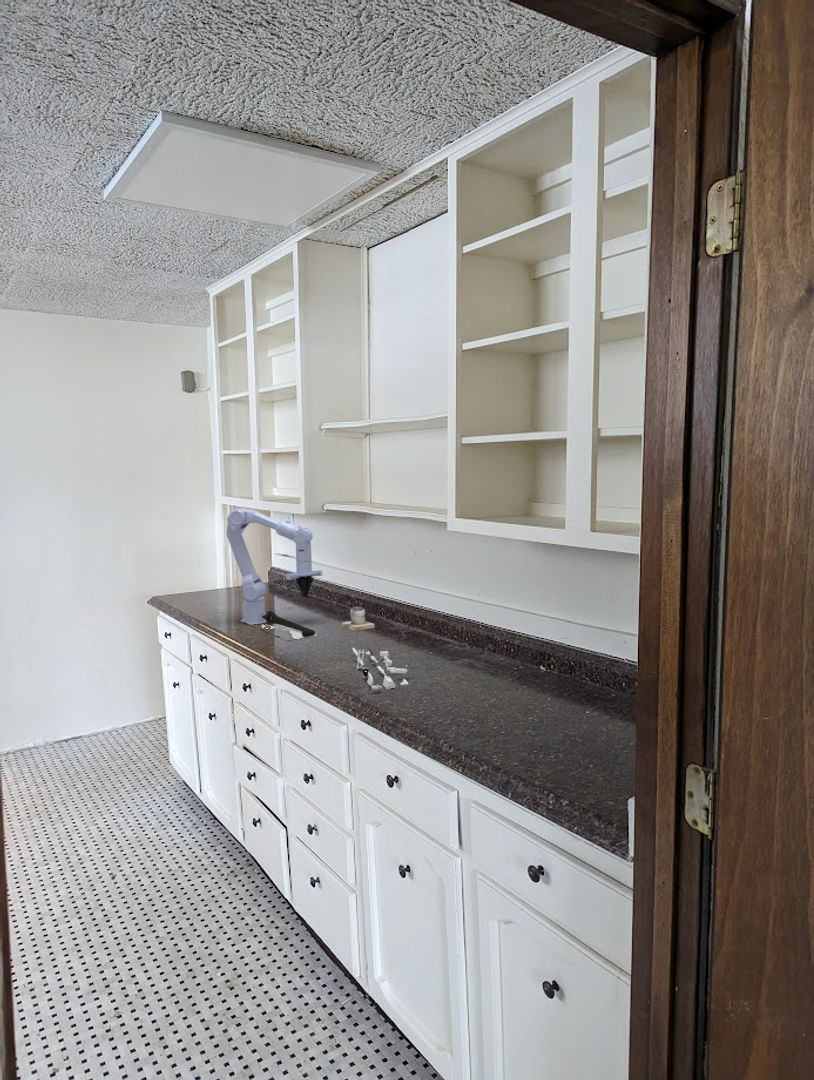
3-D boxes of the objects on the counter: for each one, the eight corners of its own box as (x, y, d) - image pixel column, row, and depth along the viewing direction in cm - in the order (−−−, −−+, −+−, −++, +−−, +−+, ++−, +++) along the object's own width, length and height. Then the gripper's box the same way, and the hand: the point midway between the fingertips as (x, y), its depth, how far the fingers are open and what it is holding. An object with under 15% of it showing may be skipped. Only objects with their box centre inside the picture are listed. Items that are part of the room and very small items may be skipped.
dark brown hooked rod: (304, 642, 245) (255, 623, 266) (315, 640, 249) (266, 622, 269) (304, 628, 245) (255, 610, 265) (316, 626, 248) (267, 608, 269)
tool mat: (252, 626, 264) (252, 626, 264) (281, 622, 271) (281, 621, 271) (287, 641, 242) (287, 640, 241) (317, 635, 249) (317, 635, 249)
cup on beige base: (341, 626, 262) (341, 607, 262) (359, 623, 267) (359, 604, 266) (356, 631, 254) (355, 611, 254) (374, 628, 259) (374, 608, 258)
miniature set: (346, 656, 218) (384, 659, 222) (370, 699, 185) (414, 701, 188) (349, 636, 218) (387, 639, 221) (374, 676, 184) (418, 678, 188)
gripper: (291, 563, 258) (292, 600, 260) (326, 560, 267) (326, 595, 268) (282, 561, 264) (283, 597, 265) (316, 558, 272) (317, 593, 274)
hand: (304, 596), depth 267 cm, fingers closed
